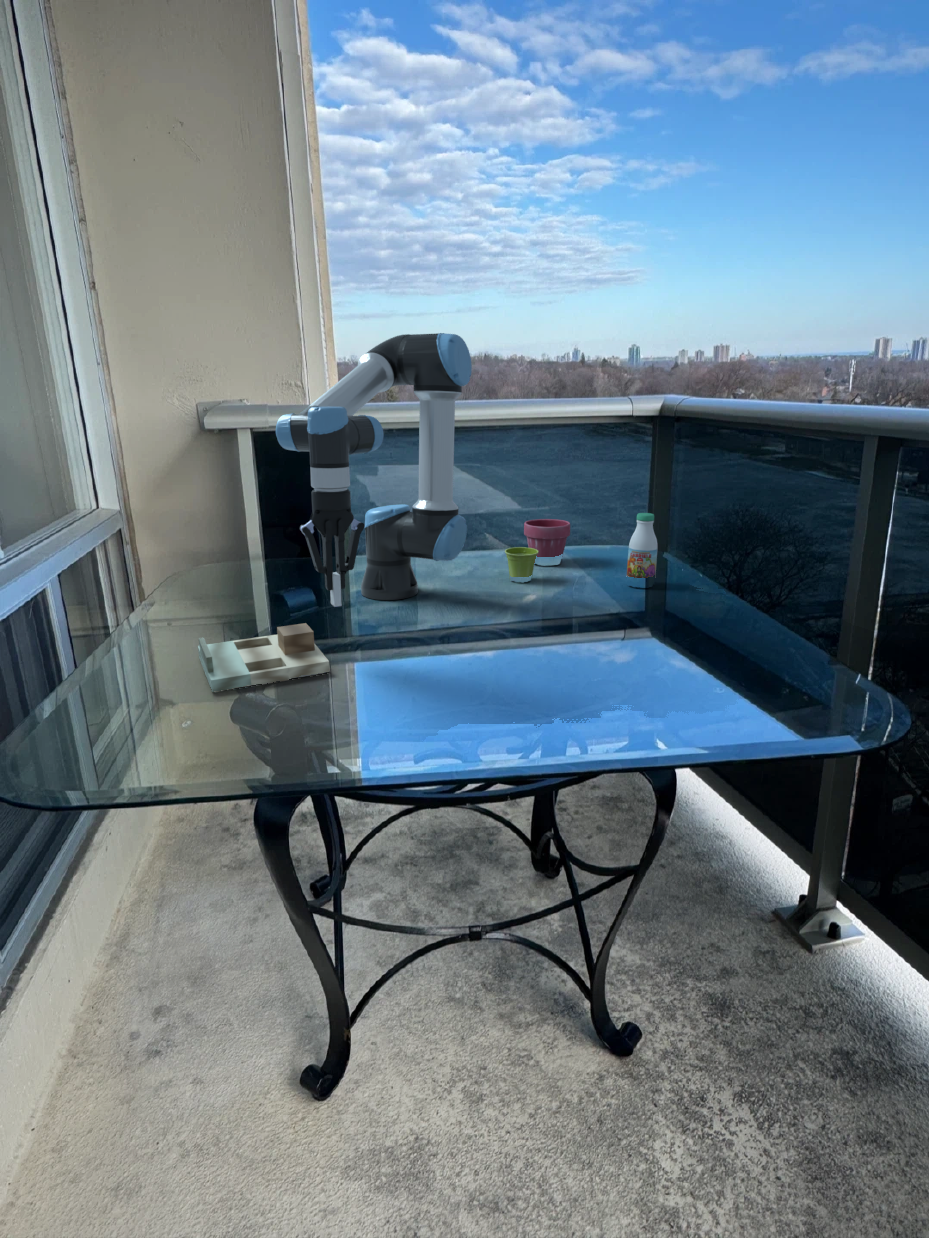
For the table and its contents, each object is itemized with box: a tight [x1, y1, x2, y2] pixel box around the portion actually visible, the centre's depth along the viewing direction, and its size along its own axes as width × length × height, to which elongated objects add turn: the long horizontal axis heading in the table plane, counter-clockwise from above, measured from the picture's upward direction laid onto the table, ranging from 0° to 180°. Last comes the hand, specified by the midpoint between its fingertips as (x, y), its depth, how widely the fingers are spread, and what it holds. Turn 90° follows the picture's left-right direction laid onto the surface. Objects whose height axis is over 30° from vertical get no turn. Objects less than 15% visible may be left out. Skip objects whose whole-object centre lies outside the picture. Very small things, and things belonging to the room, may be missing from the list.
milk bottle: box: [626, 512, 658, 578], centre depth 201 cm, size 8×8×20 cm
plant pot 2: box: [523, 518, 571, 557], centre depth 226 cm, size 14×14×13 cm
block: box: [276, 622, 315, 655], centre depth 149 cm, size 6×6×4 cm
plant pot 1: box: [504, 546, 538, 577], centre depth 207 cm, size 9×9×9 cm
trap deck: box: [197, 634, 331, 693], centre depth 147 cm, size 22×20×6 cm
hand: (336, 604), depth 151 cm, fingers closed
